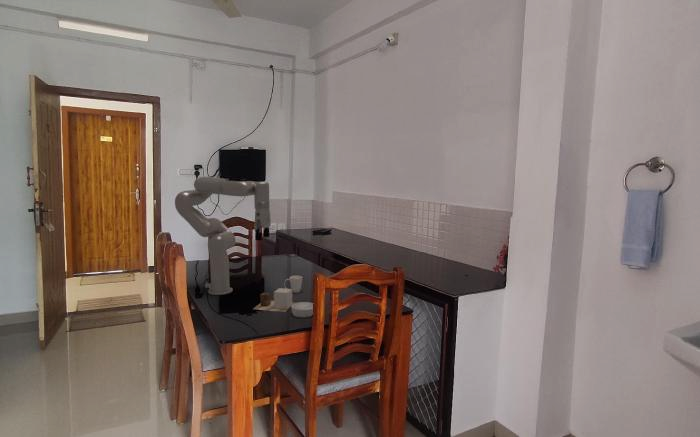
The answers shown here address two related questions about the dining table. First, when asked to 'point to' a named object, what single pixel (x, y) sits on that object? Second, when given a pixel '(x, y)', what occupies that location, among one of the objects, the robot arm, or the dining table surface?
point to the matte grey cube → (283, 298)
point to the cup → (295, 283)
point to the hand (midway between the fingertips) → (262, 238)
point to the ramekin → (302, 309)
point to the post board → (271, 307)
